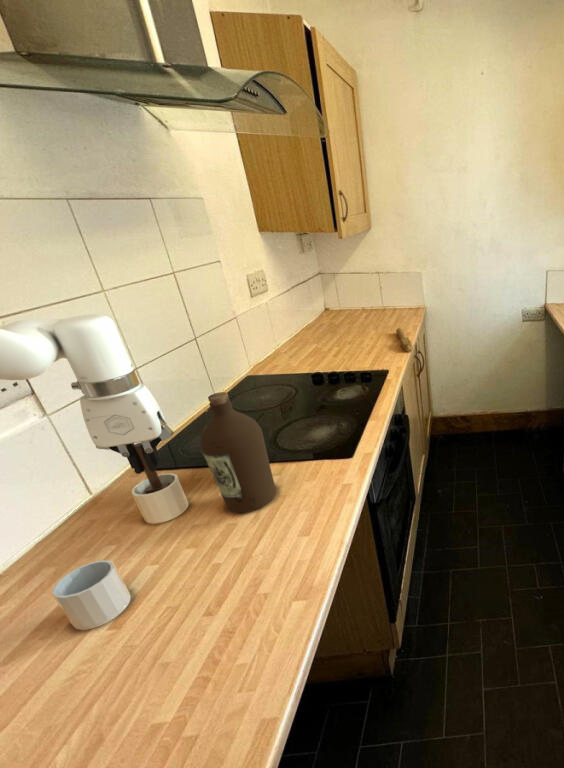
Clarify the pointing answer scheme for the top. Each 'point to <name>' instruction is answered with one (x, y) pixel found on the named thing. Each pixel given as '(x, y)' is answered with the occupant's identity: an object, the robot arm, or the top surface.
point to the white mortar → (92, 594)
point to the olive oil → (237, 457)
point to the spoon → (149, 472)
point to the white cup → (161, 500)
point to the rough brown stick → (404, 340)
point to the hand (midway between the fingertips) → (148, 468)
